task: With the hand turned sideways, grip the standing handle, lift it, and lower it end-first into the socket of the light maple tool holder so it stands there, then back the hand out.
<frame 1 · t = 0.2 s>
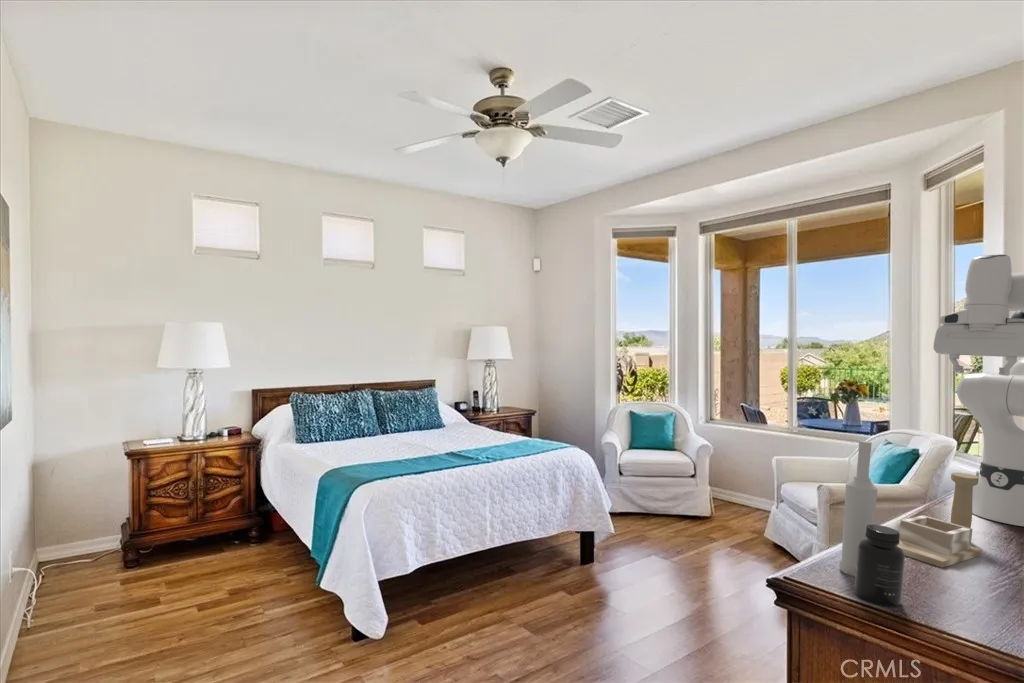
hand: (980, 373, 142), 39 cm above the dresser, tool pointing down, fingers open, 8 cm apart
bottle: (854, 573, 109), on the dresser
handle: (959, 539, 134), on the dresser
supplement bottle: (876, 599, 98), on the dresser
tool holder: (929, 550, 124), on the dresser
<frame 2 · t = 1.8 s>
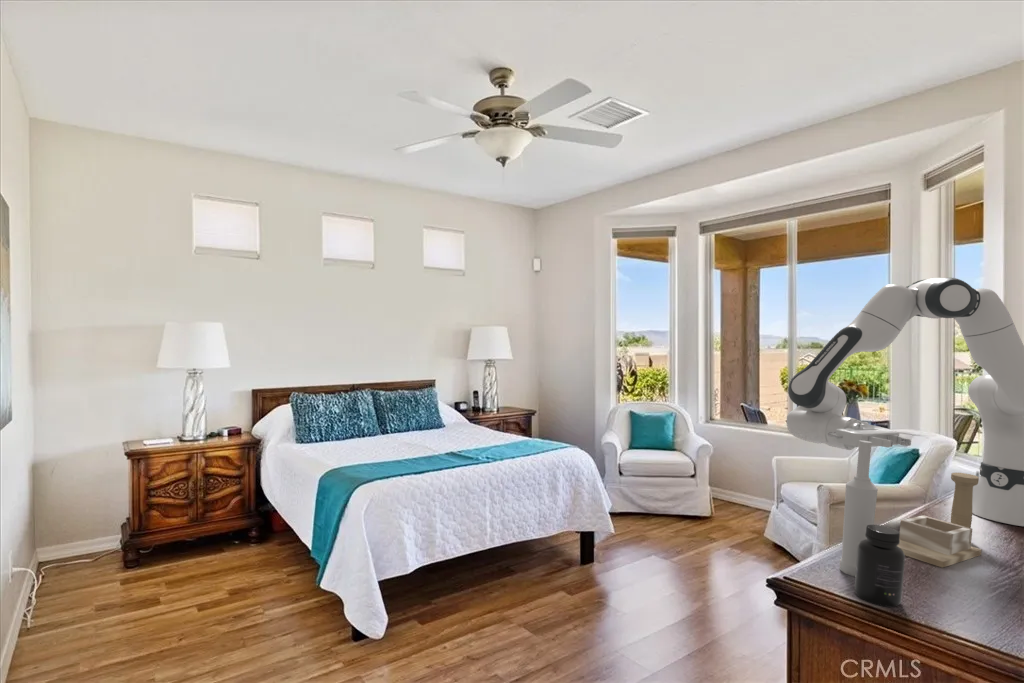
hand: (900, 443, 146), 20 cm above the dresser, tool horizontal, fingers open, 8 cm apart
nothing on the dresser moved.
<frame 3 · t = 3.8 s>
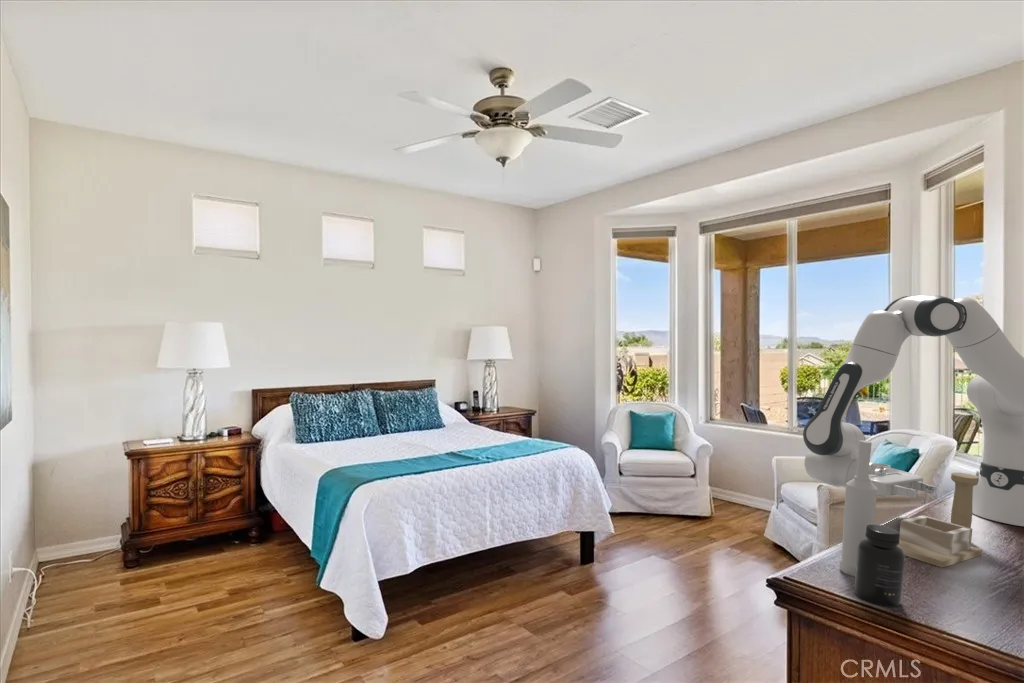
hand: (926, 492, 140), 9 cm above the dresser, tool horizontal, fingers open, 8 cm apart
nothing on the dresser moved.
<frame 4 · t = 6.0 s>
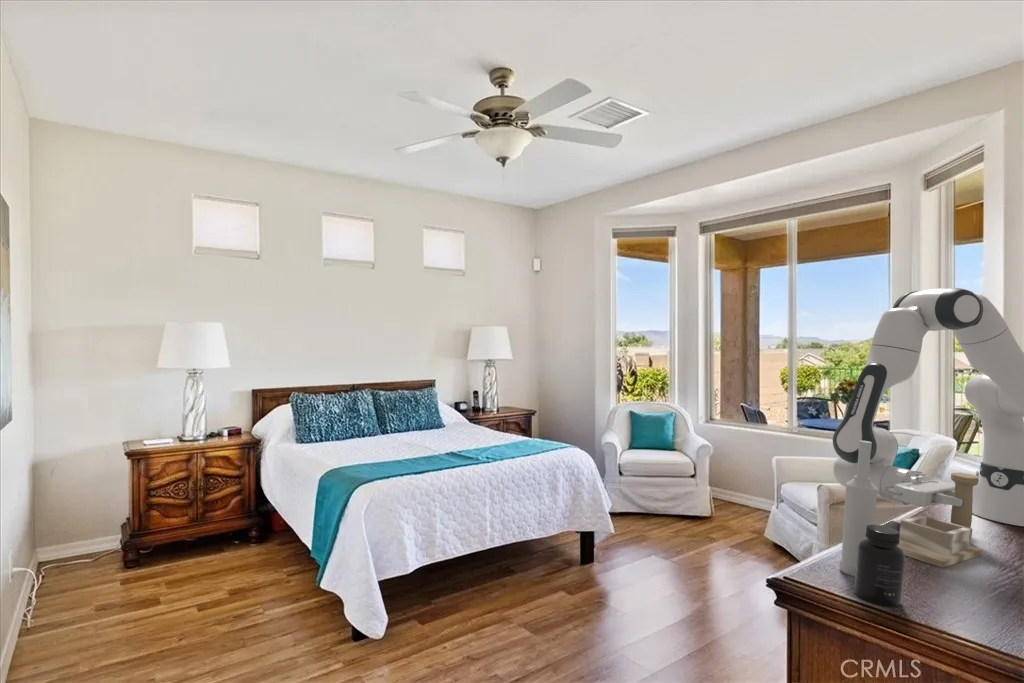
hand: (967, 501, 133), 9 cm above the dresser, tool horizontal, fingers closed on handle, 3 cm apart
handle: (959, 539, 134), on the dresser, touching gripper
everything else where it was.
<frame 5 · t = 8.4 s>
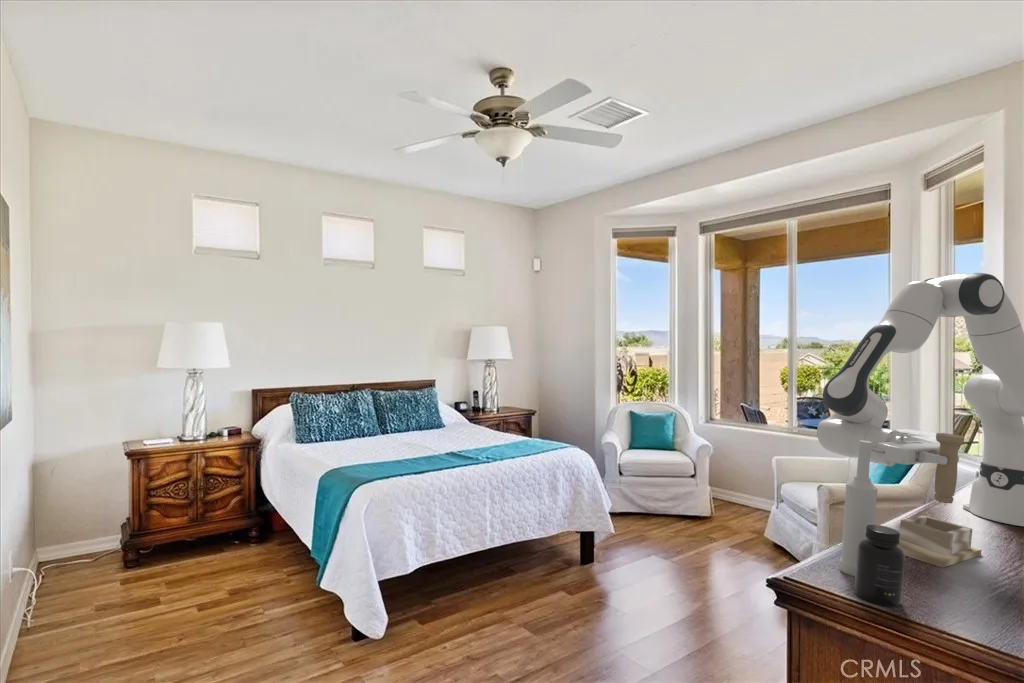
hand: (952, 460, 127), 19 cm above the dresser, tool horizontal, fingers closed on handle, 3 cm apart
handle: (943, 502, 128), point 10 cm above the dresser, touching gripper
everything else where it was.
when the fingers open (12 cm above the dresser, at t = 10.7 s): handle stays where it is, resting on tool holder.
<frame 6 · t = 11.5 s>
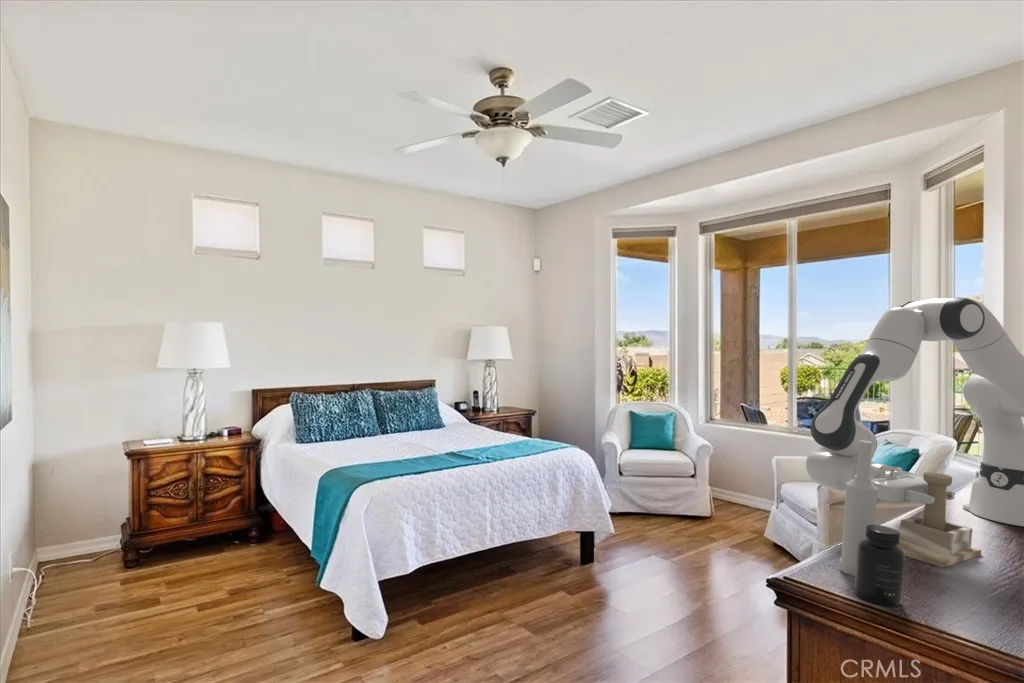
hand: (943, 498, 124), 12 cm above the dresser, tool horizontal, fingers open, 8 cm apart
handle: (931, 544, 126), point 1 cm above the dresser, touching tool holder
everything else where it was.
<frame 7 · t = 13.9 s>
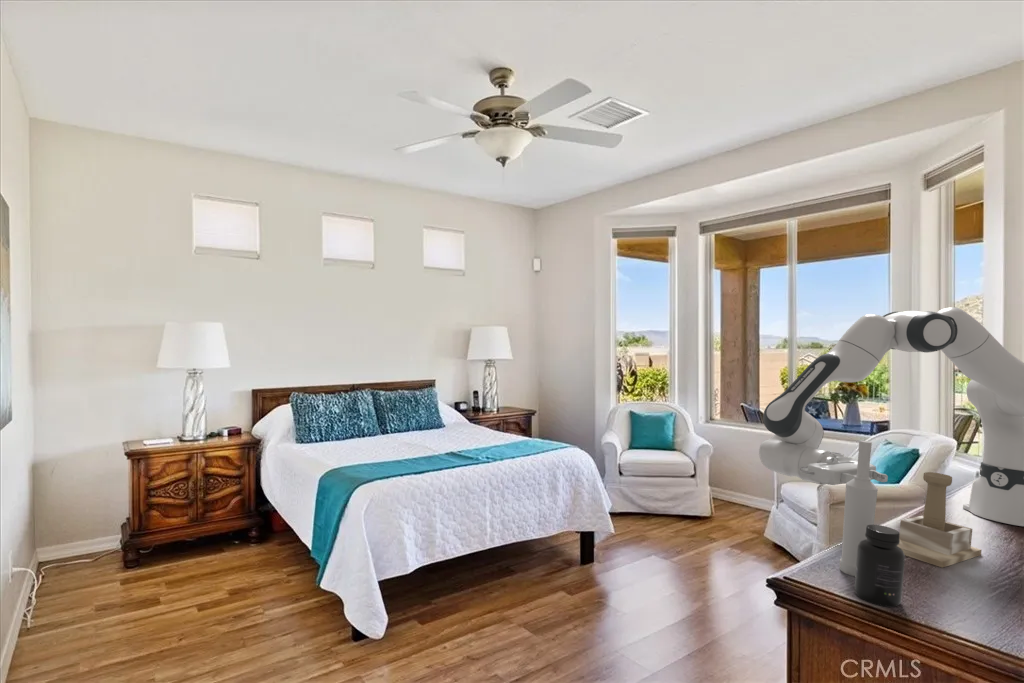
hand: (875, 480, 137), 12 cm above the dresser, tool horizontal, fingers open, 8 cm apart
nothing on the dresser moved.
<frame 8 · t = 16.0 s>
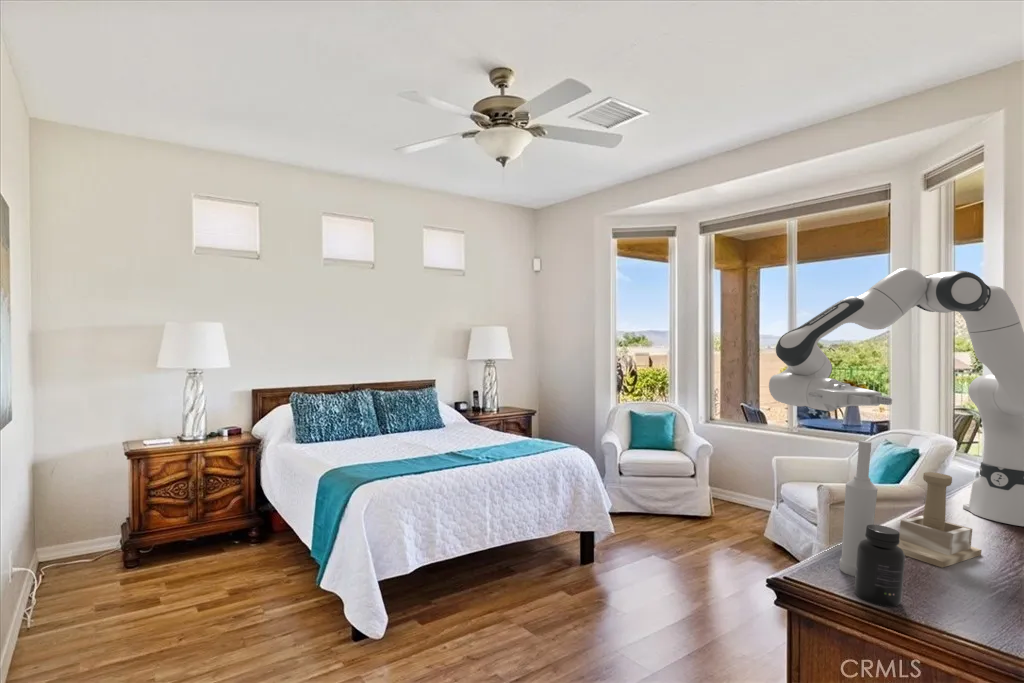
hand: (881, 401, 144), 30 cm above the dresser, tool horizontal, fingers open, 8 cm apart
nothing on the dresser moved.
at the end: handle 0.4 cm from the target spot on the tool holder, point 1.0 cm above the tool holder's base; handle tilted 0°; the gripper is holding nothing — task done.
